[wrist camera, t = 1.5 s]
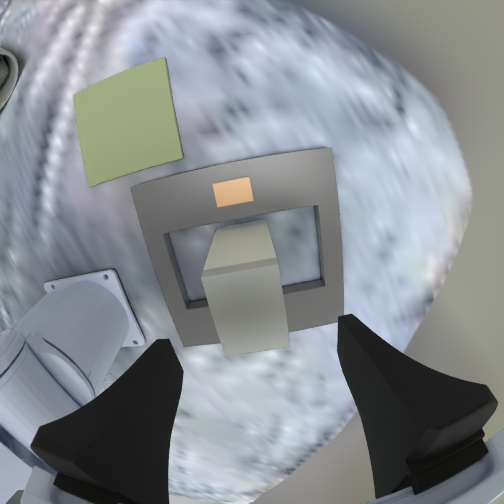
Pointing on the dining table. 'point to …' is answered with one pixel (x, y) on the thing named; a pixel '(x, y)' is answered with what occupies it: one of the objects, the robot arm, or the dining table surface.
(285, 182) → the grey square frame
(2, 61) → the ceramic mug
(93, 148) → the rubber mat
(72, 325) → the robot arm
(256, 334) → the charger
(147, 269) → the dining table surface
